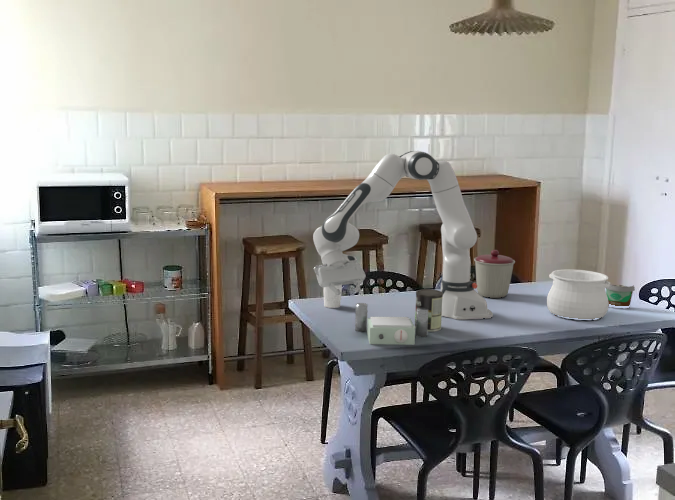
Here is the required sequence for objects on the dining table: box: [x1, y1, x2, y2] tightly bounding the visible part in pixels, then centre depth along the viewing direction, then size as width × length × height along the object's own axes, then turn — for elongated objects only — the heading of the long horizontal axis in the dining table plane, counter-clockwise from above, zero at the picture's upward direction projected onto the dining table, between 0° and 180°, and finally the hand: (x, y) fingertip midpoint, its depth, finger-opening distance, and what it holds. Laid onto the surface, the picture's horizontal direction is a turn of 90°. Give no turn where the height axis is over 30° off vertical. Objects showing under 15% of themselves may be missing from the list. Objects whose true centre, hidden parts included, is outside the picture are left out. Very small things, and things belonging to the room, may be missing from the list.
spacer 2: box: [415, 308, 428, 338], centre depth 288 cm, size 4×4×10 cm
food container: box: [605, 284, 636, 306], centre depth 334 cm, size 12×6×10 cm, turn 68°
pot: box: [546, 269, 611, 319], centre depth 321 cm, size 26×24×17 cm
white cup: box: [322, 285, 343, 309], centre depth 327 cm, size 8×8×10 cm
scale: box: [366, 316, 416, 346], centre depth 282 cm, size 16×14×7 cm
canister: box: [473, 249, 516, 299], centre depth 350 cm, size 18×18×21 cm
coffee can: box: [414, 288, 443, 333], centre depth 298 cm, size 10×10×14 cm
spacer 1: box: [354, 302, 369, 333], centre depth 293 cm, size 4×4×10 cm
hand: (348, 292), depth 299 cm, fingers open, 8 cm apart
